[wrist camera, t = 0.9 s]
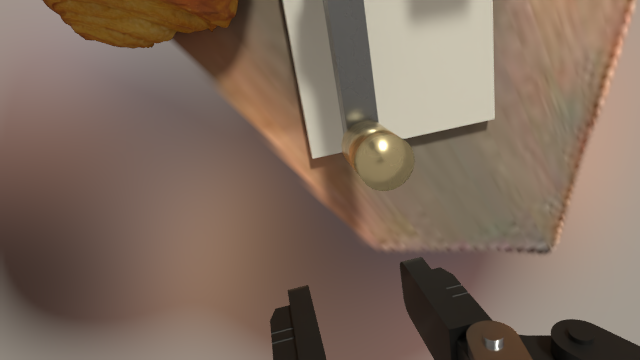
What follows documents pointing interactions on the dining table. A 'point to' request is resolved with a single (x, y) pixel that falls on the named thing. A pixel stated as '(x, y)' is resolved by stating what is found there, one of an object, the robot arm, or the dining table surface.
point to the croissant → (142, 18)
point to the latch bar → (362, 101)
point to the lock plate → (399, 66)
